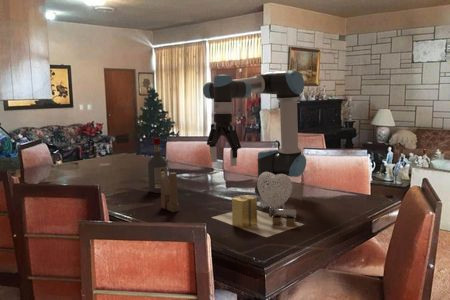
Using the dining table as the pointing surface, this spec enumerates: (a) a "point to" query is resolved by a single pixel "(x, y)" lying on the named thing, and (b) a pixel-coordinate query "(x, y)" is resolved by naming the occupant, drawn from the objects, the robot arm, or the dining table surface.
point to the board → (260, 224)
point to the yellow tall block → (244, 211)
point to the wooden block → (169, 193)
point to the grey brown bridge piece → (281, 213)
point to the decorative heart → (274, 189)
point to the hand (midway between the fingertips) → (223, 163)
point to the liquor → (156, 168)
